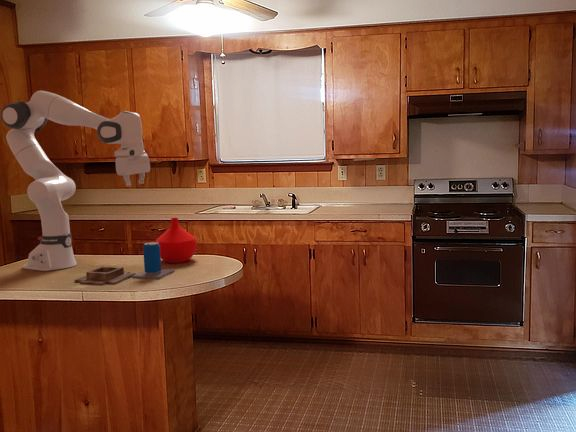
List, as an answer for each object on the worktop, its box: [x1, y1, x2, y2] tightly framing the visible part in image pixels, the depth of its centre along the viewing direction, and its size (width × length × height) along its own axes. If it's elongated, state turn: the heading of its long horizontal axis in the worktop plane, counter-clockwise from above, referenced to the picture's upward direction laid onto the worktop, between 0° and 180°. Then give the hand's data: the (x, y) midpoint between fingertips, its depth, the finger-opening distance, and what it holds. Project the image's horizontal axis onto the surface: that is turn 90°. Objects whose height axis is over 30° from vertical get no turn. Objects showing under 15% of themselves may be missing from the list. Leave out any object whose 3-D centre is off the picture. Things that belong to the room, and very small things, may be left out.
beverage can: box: [142, 241, 162, 274], centre depth 225 cm, size 6×6×12 cm
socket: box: [74, 265, 137, 286], centre depth 222 cm, size 18×18×4 cm
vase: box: [154, 217, 198, 264], centre depth 249 cm, size 18×18×19 cm
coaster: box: [131, 268, 175, 280], centre depth 226 cm, size 12×12×1 cm
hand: (135, 184), depth 233 cm, fingers open, 8 cm apart
